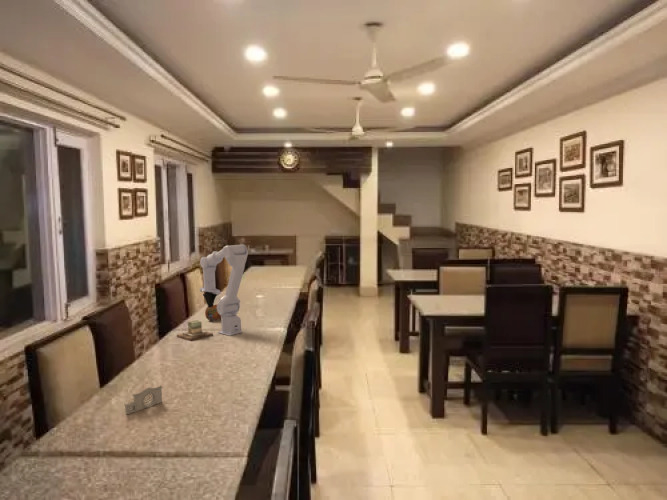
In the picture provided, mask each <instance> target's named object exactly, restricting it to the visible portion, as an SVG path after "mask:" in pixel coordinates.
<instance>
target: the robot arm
mask: <svg viewBox="0 0 667 500" xmlns="http://www.w3.org/2000/svg"><path fill="white" fill-rule="evenodd" d="M248 255H249V251H248V248H247V246H246V245H245V244H243V243H240V244H234V245H232V244H231V245H225V246H223V248H222V249H221V250H219V251H217V250H215V251H212V253H210V254H208V255H207V256H202V257H201V258H200V267H201V268H202V275H203V287H199V292H200V293H203V294H202V295H203V297H204V299H205V302H206V305H207V307H213V305H215V299H216V297H217V295H221V290H220V289H217V288H216V270H217V265H218V264H220V263H222V261H223V260H224V258H225V260H226V261H227V263H228V265H229V266H230V267H231V272H230V275H229V279H228V283H227V288H226V291H225V294H224V295H223V296H222V297H221V298H219V301H218V302H217V303H216V304H217V312H218V313H219V314H220V315H221V319H220V320H221V323H220V324H221V330H220V331H218V334H221V335H226V336H234V335H238V334H241V333H243V332H244V331H242V319H241V317H239V316H238V312H239V311H240V309H241V300H240V298H239V297H238V293H239V289H240V286H241V283H242V278H243V275H244V271H245V267H246V263H247V260H248V259H247V258H248Z"/></svg>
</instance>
